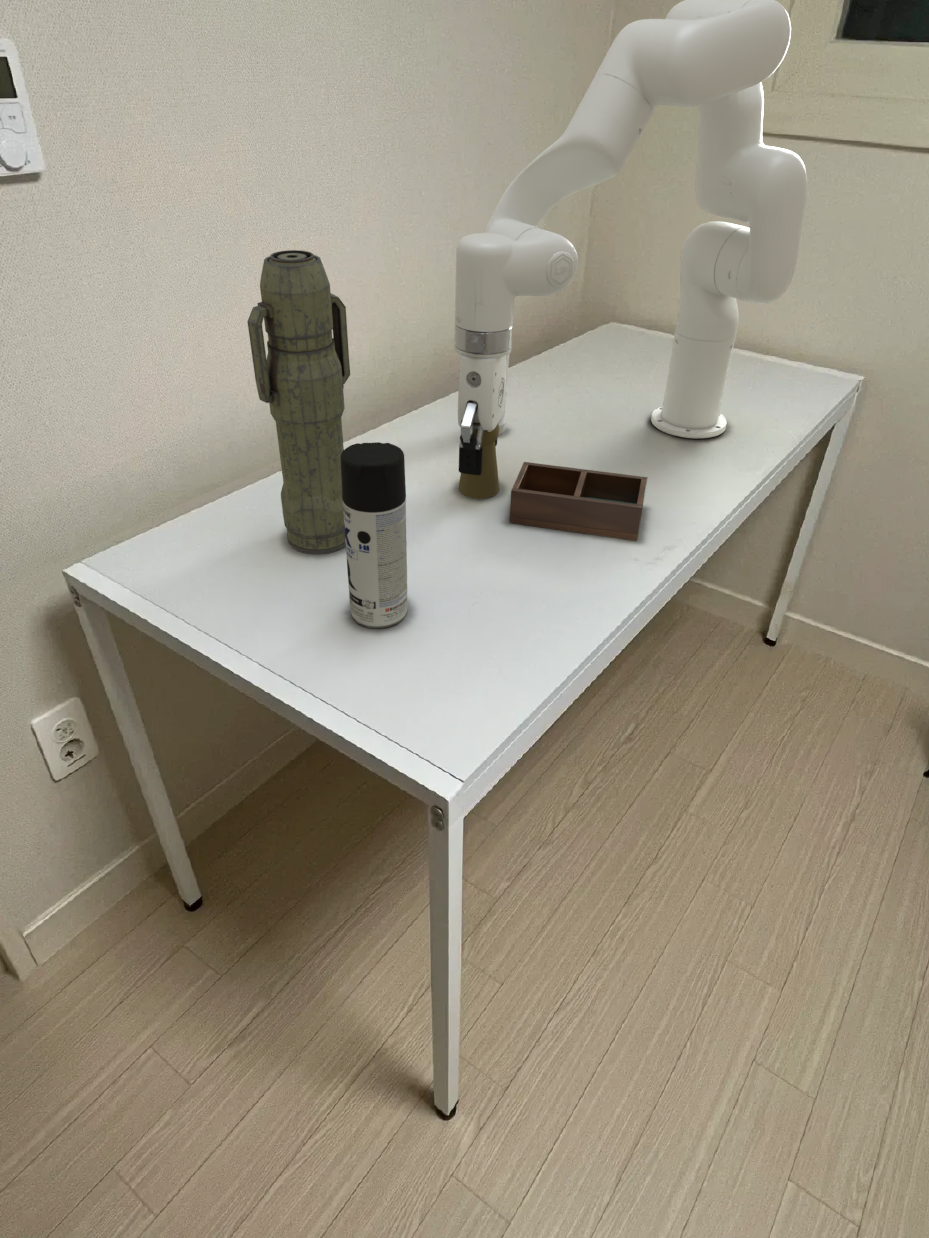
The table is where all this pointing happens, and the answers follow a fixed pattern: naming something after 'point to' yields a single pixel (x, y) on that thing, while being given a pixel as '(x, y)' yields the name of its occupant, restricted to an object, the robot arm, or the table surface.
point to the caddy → (578, 500)
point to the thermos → (304, 392)
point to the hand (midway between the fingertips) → (478, 458)
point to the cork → (483, 470)
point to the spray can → (375, 532)
